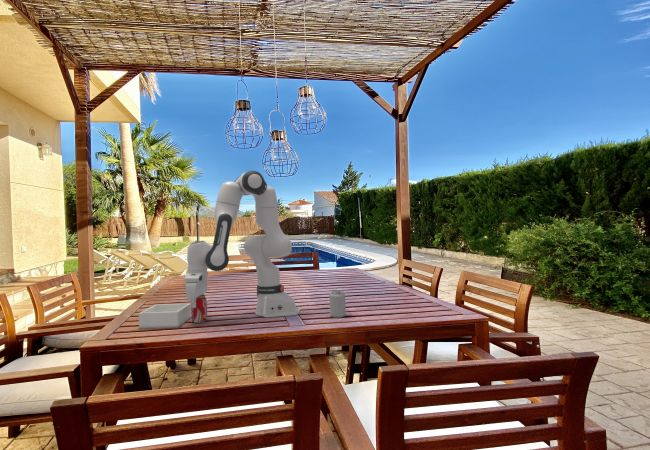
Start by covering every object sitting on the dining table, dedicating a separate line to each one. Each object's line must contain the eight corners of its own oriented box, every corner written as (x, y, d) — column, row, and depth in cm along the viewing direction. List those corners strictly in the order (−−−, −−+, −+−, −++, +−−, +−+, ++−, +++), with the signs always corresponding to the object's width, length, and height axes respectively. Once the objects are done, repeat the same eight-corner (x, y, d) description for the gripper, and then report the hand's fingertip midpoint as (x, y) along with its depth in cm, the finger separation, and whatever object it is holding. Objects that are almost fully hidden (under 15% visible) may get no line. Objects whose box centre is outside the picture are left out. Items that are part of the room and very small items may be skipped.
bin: (191, 317, 183) (190, 303, 183) (177, 327, 166) (177, 312, 166) (155, 318, 182) (155, 304, 182) (139, 328, 165) (138, 313, 165)
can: (347, 314, 182) (346, 290, 182) (343, 318, 175) (342, 293, 175) (332, 313, 184) (332, 289, 184) (327, 317, 177) (327, 292, 177)
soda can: (202, 324, 171) (201, 297, 171) (188, 323, 173) (187, 297, 172) (210, 319, 178) (209, 294, 178) (196, 319, 180) (195, 294, 179)
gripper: (197, 273, 185) (197, 301, 185) (182, 278, 165) (183, 310, 165) (210, 273, 185) (210, 301, 185) (197, 278, 165) (197, 309, 165)
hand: (197, 305), depth 175 cm, fingers open, 8 cm apart
